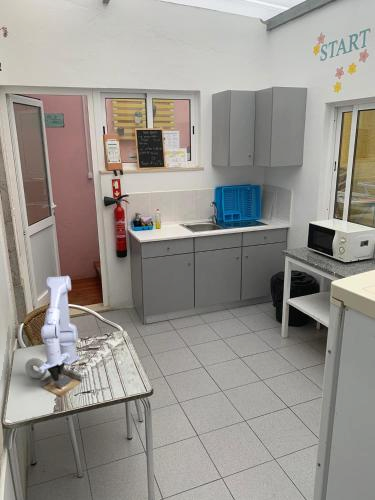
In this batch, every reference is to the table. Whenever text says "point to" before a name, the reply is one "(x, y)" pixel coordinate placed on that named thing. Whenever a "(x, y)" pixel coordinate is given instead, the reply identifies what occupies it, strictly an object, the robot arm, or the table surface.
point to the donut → (32, 371)
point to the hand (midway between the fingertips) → (57, 379)
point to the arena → (75, 381)
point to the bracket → (61, 381)
